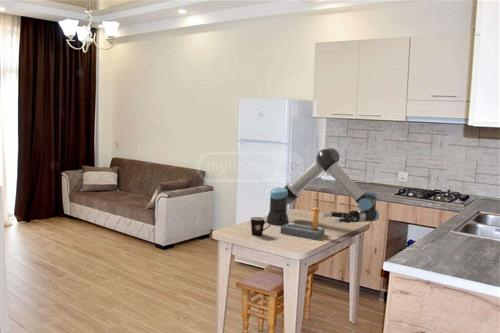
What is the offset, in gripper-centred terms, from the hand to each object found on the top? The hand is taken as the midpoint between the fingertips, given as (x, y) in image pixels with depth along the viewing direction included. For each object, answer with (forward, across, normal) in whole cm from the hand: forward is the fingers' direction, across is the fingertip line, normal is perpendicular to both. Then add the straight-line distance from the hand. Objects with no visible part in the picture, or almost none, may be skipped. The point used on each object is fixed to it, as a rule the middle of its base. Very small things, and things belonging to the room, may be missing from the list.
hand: (328, 217), depth 277 cm
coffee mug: (+42, +10, -11) cm, 45 cm away
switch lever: (+9, 0, -11) cm, 14 cm away
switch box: (+14, +6, -11) cm, 19 cm away
